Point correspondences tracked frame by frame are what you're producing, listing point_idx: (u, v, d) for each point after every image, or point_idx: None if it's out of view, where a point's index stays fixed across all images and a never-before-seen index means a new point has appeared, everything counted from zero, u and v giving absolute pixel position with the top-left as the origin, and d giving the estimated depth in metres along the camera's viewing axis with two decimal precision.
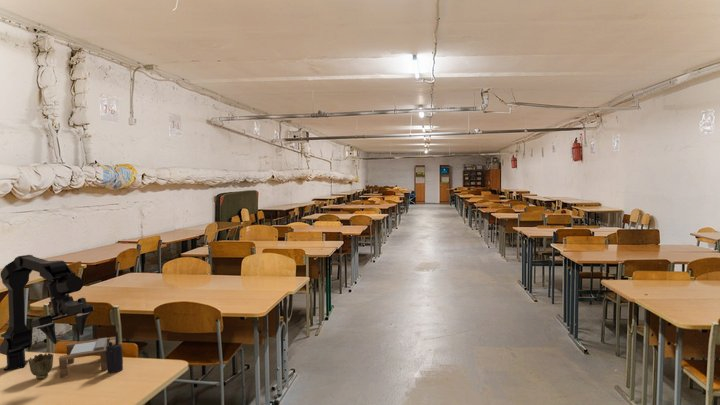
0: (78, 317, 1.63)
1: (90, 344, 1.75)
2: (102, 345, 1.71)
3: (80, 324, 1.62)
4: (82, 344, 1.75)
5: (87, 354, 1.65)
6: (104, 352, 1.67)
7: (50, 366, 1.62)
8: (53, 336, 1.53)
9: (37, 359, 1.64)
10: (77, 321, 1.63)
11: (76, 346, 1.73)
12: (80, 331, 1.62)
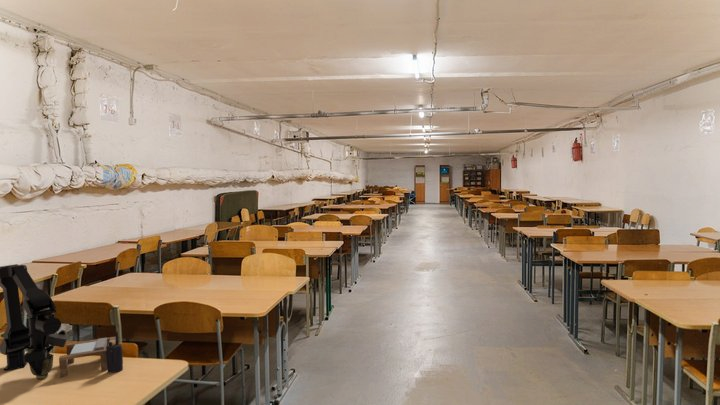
0: None
1: (90, 344, 1.75)
2: (102, 345, 1.71)
3: None
4: (82, 344, 1.75)
5: (87, 354, 1.65)
6: (104, 352, 1.67)
7: (50, 366, 1.62)
8: None
9: None
10: None
11: (76, 346, 1.73)
12: None
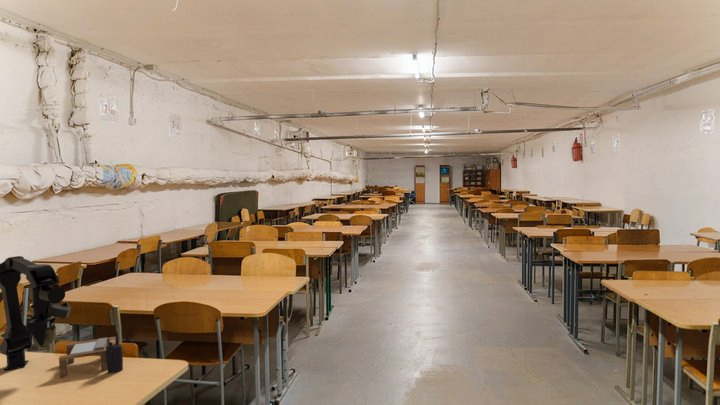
0: None
1: (90, 344, 1.75)
2: (102, 345, 1.71)
3: None
4: (82, 344, 1.75)
5: (87, 354, 1.65)
6: (104, 352, 1.67)
7: (52, 337, 1.62)
8: (44, 338, 1.59)
9: None
10: None
11: (76, 346, 1.73)
12: None
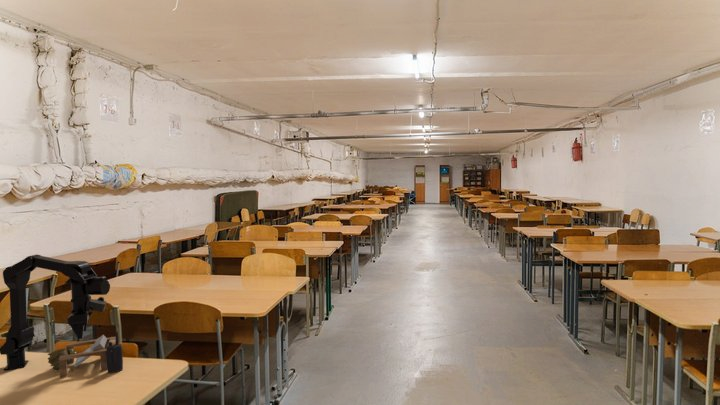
0: None
1: (90, 347, 1.75)
2: (98, 343, 1.70)
3: None
4: (84, 351, 1.75)
5: (87, 354, 1.65)
6: (104, 352, 1.67)
7: (58, 351, 1.67)
8: None
9: None
10: None
11: None
12: (84, 327, 1.75)
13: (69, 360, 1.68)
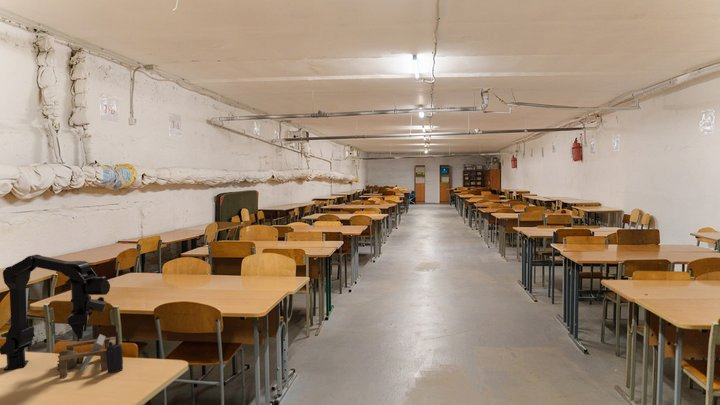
0: None
1: (92, 349, 1.75)
2: (95, 342, 1.70)
3: None
4: None
5: (87, 354, 1.65)
6: (104, 352, 1.67)
7: (70, 351, 1.70)
8: None
9: None
10: None
11: (84, 360, 1.74)
12: (84, 327, 1.75)
13: (74, 364, 1.69)
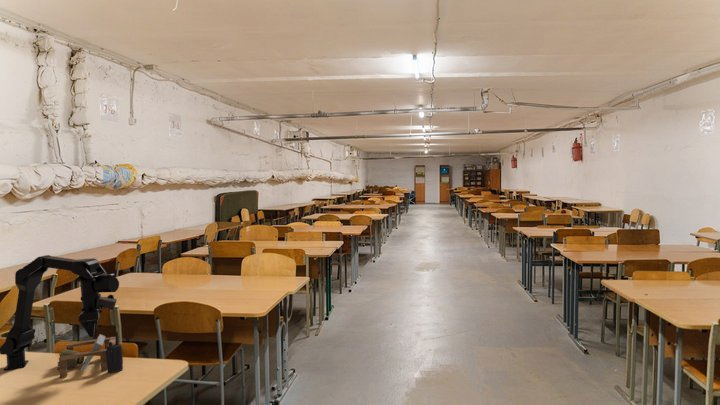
0: None
1: (92, 349, 1.75)
2: (95, 342, 1.70)
3: None
4: None
5: (87, 354, 1.65)
6: (104, 352, 1.67)
7: (72, 350, 1.71)
8: (94, 329, 1.64)
9: None
10: None
11: (85, 360, 1.74)
12: (94, 326, 1.72)
13: (75, 363, 1.69)
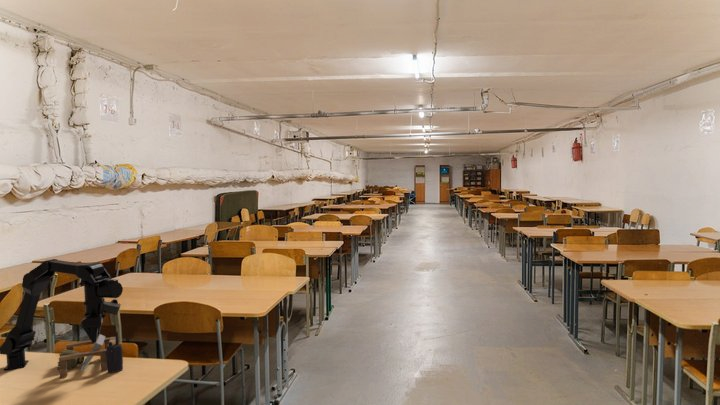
0: None
1: (92, 349, 1.75)
2: (95, 342, 1.70)
3: None
4: None
5: (87, 354, 1.65)
6: (104, 352, 1.67)
7: (72, 350, 1.71)
8: (96, 335, 1.61)
9: None
10: None
11: (85, 360, 1.74)
12: None
13: (75, 363, 1.69)
